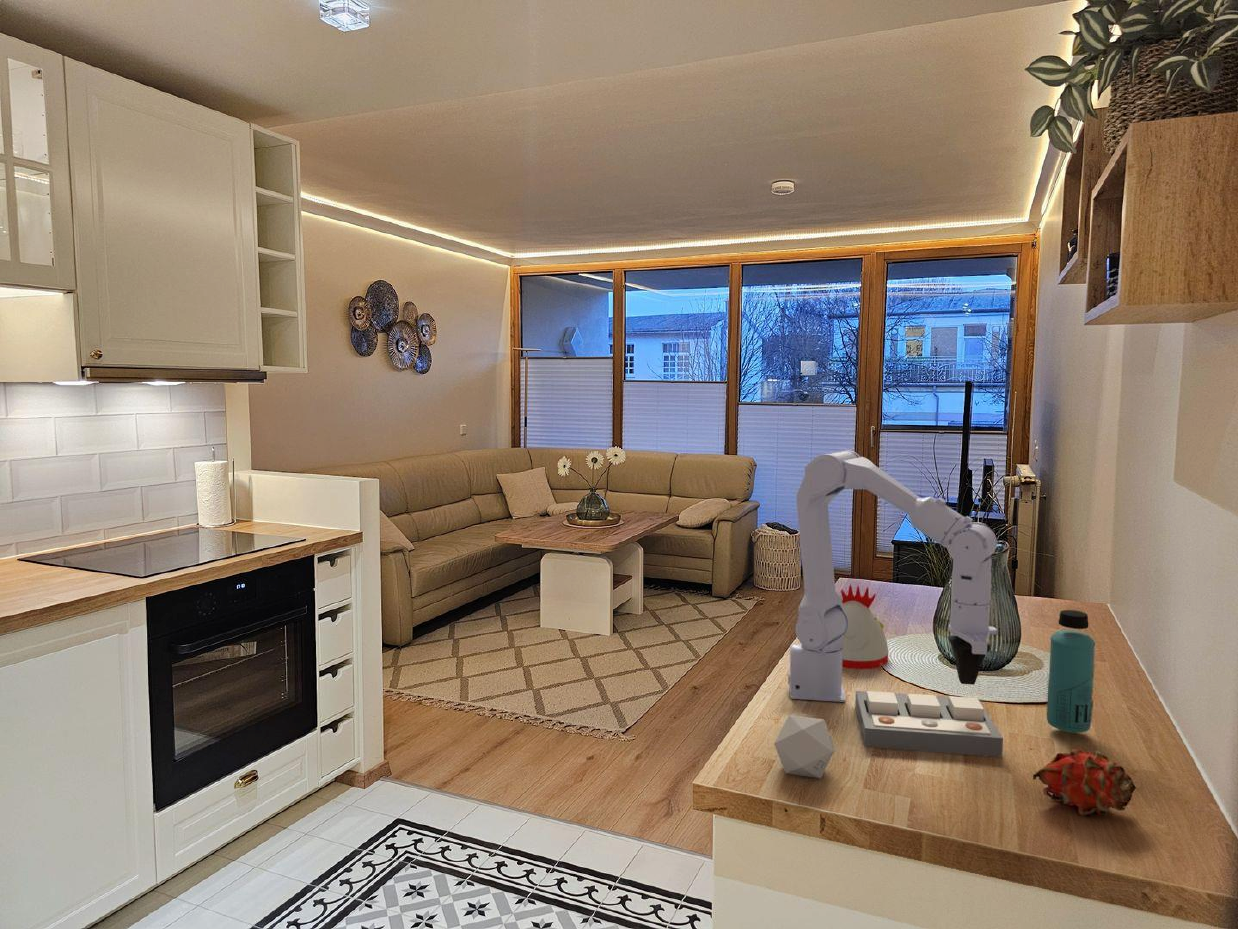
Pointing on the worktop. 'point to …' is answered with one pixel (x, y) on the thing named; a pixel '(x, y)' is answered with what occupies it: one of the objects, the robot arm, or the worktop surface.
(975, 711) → the right button
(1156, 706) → the worktop surface
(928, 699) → the middle button
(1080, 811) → the dragon fruit
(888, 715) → the button board
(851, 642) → the kitchen timer
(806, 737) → the die
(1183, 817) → the worktop surface
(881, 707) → the left button
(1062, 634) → the beverage bottle
